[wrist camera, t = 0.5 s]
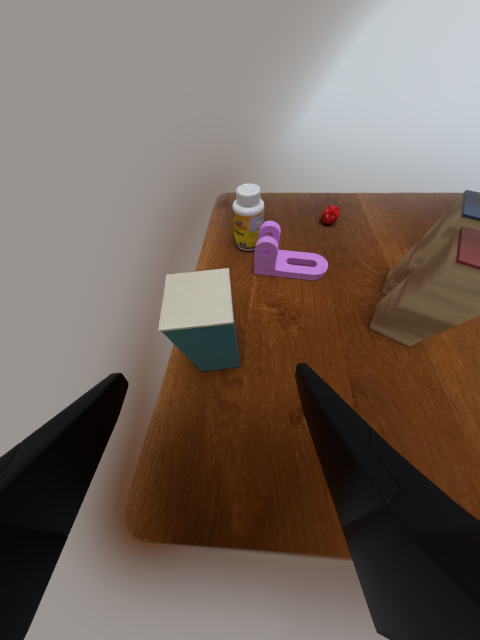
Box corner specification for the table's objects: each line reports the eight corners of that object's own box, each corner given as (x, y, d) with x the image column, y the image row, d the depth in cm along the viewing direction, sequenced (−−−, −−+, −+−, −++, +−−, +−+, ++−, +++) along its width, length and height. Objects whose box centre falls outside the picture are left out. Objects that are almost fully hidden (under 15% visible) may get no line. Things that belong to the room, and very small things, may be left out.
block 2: (409, 347, 25) (547, 286, 13) (367, 328, 27) (459, 260, 15) (415, 318, 27) (539, 245, 16) (376, 303, 29) (462, 226, 17)
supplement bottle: (231, 239, 38) (226, 185, 29) (254, 232, 39) (256, 178, 30) (241, 255, 36) (239, 201, 27) (265, 247, 36) (271, 192, 28)
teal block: (240, 367, 24) (233, 322, 13) (200, 371, 24) (158, 330, 13) (236, 331, 27) (228, 268, 16) (201, 335, 27) (166, 274, 16)
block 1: (417, 307, 28) (535, 230, 16) (380, 293, 30) (463, 213, 18) (422, 284, 30) (530, 202, 19) (387, 272, 32) (466, 190, 20)
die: (320, 223, 38) (337, 206, 35) (315, 214, 40) (331, 197, 37) (329, 231, 40) (346, 216, 37) (323, 222, 42) (339, 207, 39)
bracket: (253, 273, 33) (255, 240, 27) (258, 253, 36) (260, 220, 30) (325, 282, 31) (344, 249, 25) (324, 260, 34) (341, 226, 28)
